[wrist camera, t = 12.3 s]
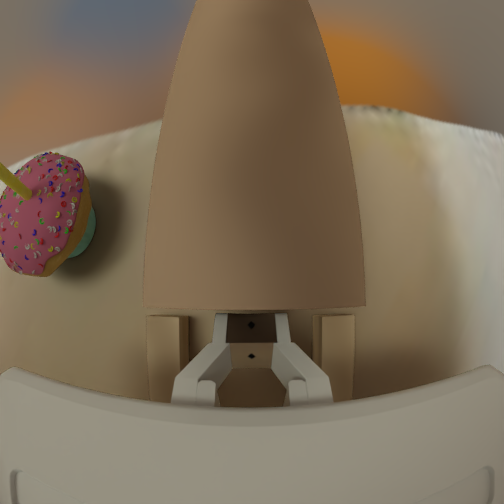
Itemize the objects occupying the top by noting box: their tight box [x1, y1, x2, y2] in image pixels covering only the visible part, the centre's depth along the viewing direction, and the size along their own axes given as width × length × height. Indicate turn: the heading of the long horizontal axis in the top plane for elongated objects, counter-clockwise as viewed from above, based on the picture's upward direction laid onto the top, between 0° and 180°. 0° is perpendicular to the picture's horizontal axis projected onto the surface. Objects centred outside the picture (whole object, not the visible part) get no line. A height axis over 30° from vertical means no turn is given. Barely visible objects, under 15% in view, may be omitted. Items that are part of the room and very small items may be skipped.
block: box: [143, 0, 366, 310], centre depth 13 cm, size 5×14×12 cm, turn 0°
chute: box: [146, 314, 355, 403], centre depth 14 cm, size 12×20×2 cm, turn 0°
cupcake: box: [0, 152, 96, 277], centre depth 13 cm, size 9×8×12 cm
